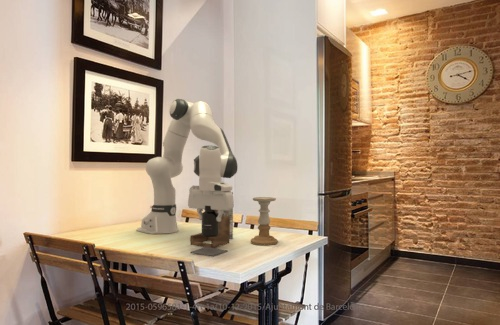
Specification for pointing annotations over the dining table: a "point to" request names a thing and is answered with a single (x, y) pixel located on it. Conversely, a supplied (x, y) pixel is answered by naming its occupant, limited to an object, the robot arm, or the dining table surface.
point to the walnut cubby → (216, 240)
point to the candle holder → (264, 223)
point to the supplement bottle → (209, 222)
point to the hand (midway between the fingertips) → (210, 220)
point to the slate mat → (209, 251)
